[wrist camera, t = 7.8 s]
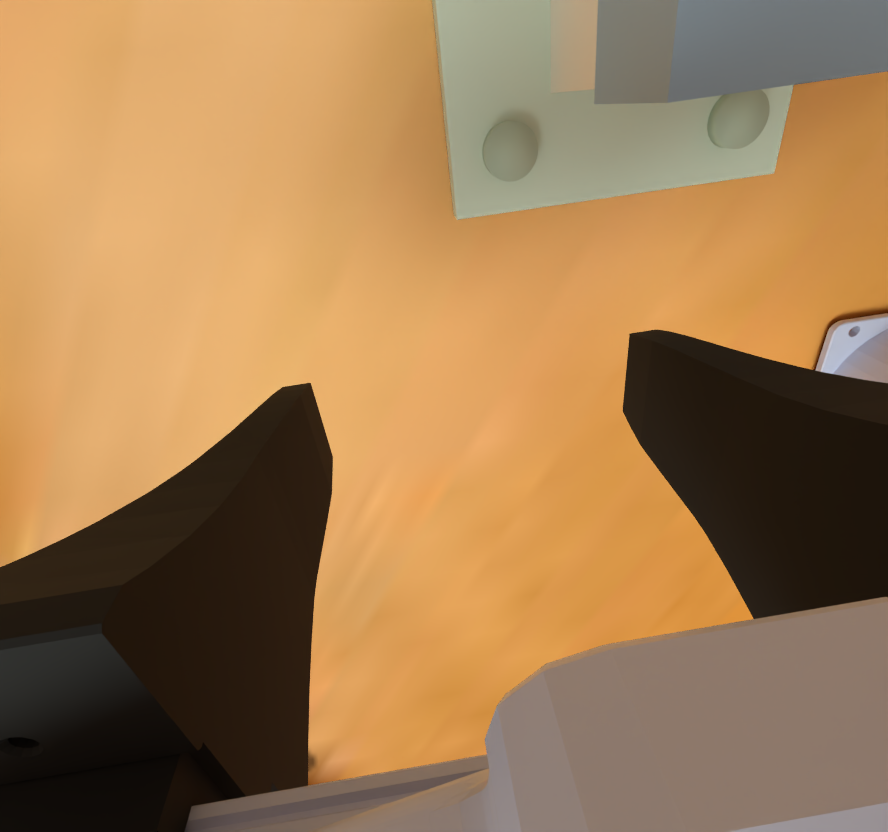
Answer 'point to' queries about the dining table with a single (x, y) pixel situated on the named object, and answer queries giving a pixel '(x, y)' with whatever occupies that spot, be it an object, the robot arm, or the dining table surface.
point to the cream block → (573, 44)
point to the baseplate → (576, 122)
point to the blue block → (732, 46)
